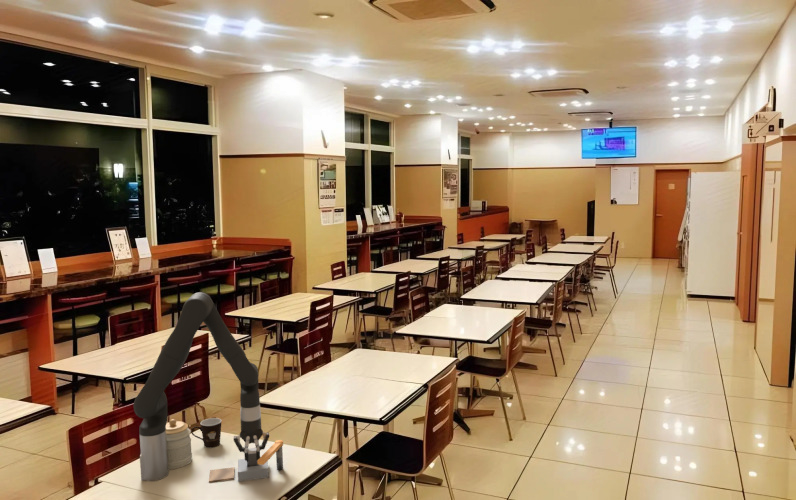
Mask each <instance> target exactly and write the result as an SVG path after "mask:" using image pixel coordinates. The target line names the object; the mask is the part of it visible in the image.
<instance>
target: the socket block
mask: <svg viewBox="0 0 796 500" xmlns="http://www.w3.org/2000/svg"><path fill="white" fill-rule="evenodd" d="M268 461H269V460H268ZM268 461H267V462H266V463H265V464H264V465H261V464H258V462H257V466H251V467H249V463H248V462H247V461H245V458H240V459H239V458H238V459H237V481H238V482H242V481H250V480H252V481H253V480H260V479H266V478H267V479H268V478H269V477H270V476H269V464H268V463H269V462H268Z"/></svg>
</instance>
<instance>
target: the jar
mask: <svg viewBox="0 0 796 500" xmlns="http://www.w3.org/2000/svg"><path fill="white" fill-rule="evenodd" d="M191 430H192V429H190V428H189V424H188V423H186V422H184V421H181V420H180V421H179V420H176V419H174V418H172V419H170V420H169V422H168V421H167V423H166V441H167V457H168V470H173V469H179V468H182V467H185V466H187V465H189V464H190V463H191V462H192V459H193V453H192V438H191V436H190V434H192V433H191Z"/></svg>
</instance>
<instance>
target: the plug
mask: <svg viewBox="0 0 796 500" xmlns="http://www.w3.org/2000/svg"><path fill="white" fill-rule="evenodd" d="M248 463H249V467H251V466H257V458H256V446H255V447H248Z"/></svg>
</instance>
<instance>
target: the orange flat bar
mask: <svg viewBox="0 0 796 500" xmlns="http://www.w3.org/2000/svg"><path fill="white" fill-rule="evenodd" d="M281 446H282V447H283V446H284V440H282V439H277V440H275V441H274V443H273V444H272V445H271V446H270V447H269V448H268V449H267V450H266V451H265V452H264V453H263V454H262V455H260V458H259V459H258V460H257V462H258V464H261V465H264V464H265V463H266V462H267V461H269V460H270V459H271V458H272V457H273V456H274V454H276V451H277V450H278V449H279V448H280V447H281Z"/></svg>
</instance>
